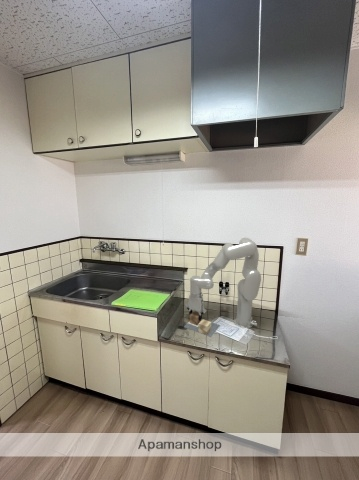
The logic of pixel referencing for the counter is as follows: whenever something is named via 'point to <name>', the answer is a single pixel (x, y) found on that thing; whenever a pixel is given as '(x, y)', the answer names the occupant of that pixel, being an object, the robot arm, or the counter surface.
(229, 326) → the counter surface
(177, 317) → the counter surface
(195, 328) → the build board
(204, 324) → the maple block
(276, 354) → the counter surface
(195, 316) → the walnut block
